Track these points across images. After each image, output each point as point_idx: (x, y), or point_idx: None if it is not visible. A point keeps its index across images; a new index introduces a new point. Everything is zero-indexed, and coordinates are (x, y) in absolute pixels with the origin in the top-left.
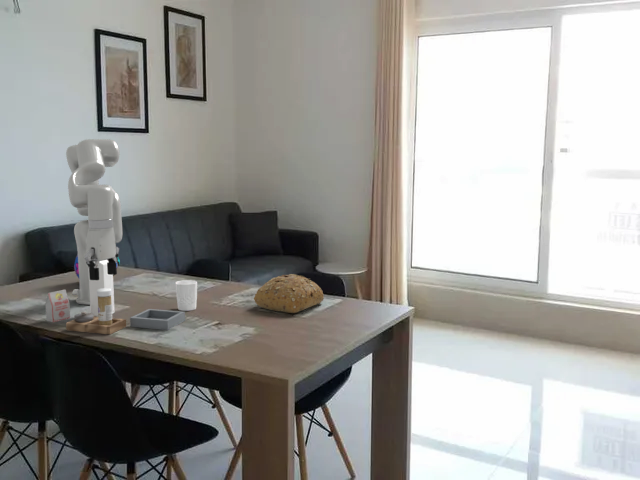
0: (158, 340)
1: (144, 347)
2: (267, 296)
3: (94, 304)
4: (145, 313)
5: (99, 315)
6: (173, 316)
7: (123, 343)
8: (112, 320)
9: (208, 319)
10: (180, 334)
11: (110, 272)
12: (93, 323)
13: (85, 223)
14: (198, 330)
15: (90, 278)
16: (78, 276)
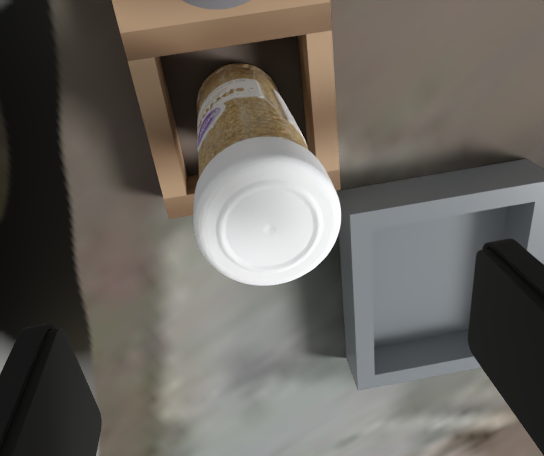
0: (208, 409)
1: (108, 424)
2: None
3: None
4: (479, 206)
5: (197, 129)
6: (433, 368)
7: (98, 338)
8: (311, 111)
9: None
10: (310, 421)
11: (488, 302)
12: (195, 50)
13: None
14: (379, 435)
15: (23, 349)
16: None
